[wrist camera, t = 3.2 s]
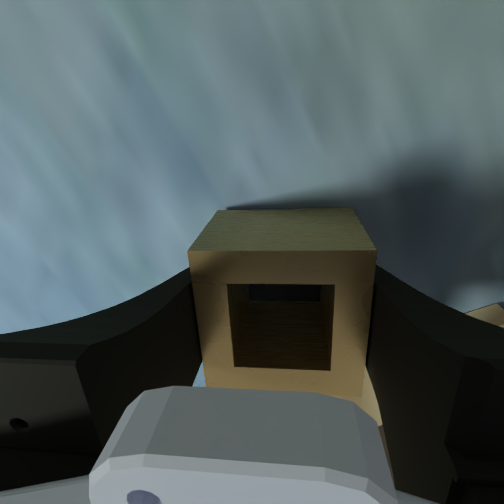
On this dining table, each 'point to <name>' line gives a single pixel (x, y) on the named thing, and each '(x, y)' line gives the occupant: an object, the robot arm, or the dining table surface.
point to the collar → (284, 312)
